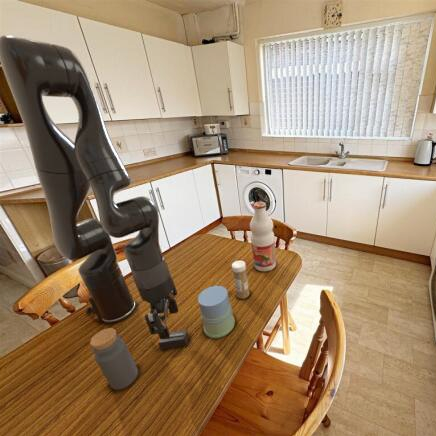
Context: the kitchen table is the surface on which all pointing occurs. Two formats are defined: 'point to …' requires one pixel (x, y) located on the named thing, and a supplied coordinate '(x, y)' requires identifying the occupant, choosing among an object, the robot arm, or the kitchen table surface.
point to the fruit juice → (262, 238)
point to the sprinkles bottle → (240, 279)
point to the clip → (174, 340)
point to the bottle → (114, 358)
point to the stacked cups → (216, 311)
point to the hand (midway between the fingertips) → (170, 324)
